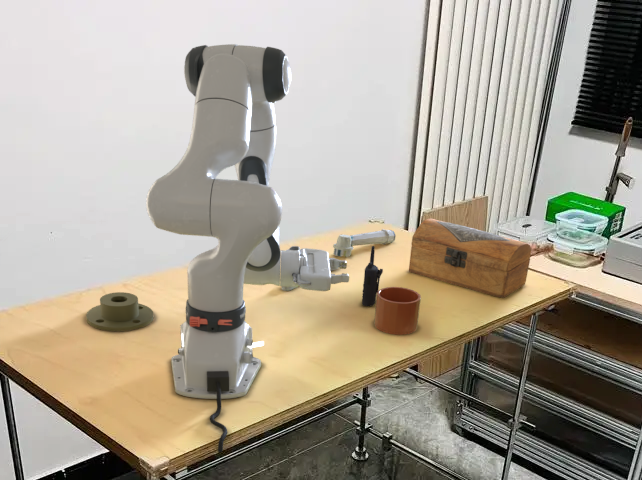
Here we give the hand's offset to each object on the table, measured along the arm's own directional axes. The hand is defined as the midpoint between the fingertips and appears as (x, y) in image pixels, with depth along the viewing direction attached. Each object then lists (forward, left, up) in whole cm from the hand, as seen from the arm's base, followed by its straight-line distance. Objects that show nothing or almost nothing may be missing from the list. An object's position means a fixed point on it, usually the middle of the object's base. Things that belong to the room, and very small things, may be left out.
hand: (347, 271), depth 201 cm
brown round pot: (-13, -12, -9) cm, 19 cm away
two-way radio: (0, -6, -9) cm, 11 cm away
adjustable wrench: (+18, +10, -9) cm, 22 cm away
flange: (-15, +54, -9) cm, 56 cm away
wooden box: (+22, -35, -9) cm, 42 cm away
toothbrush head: (+43, -8, -9) cm, 45 cm away
